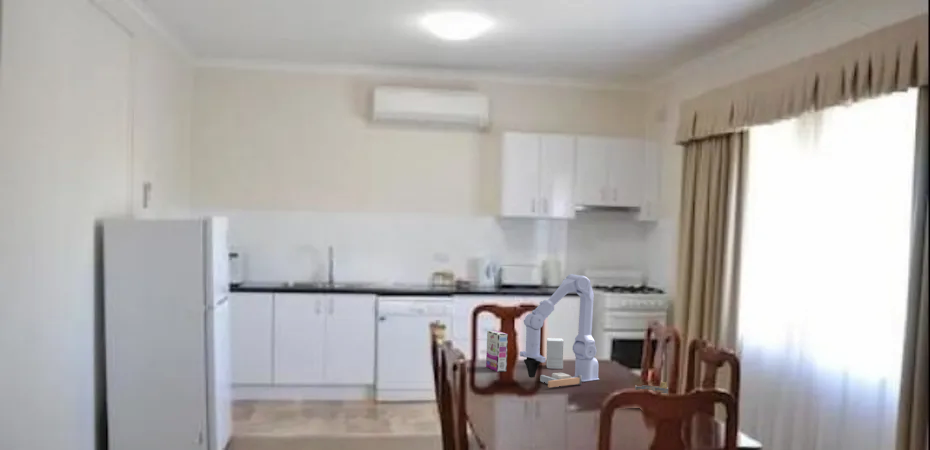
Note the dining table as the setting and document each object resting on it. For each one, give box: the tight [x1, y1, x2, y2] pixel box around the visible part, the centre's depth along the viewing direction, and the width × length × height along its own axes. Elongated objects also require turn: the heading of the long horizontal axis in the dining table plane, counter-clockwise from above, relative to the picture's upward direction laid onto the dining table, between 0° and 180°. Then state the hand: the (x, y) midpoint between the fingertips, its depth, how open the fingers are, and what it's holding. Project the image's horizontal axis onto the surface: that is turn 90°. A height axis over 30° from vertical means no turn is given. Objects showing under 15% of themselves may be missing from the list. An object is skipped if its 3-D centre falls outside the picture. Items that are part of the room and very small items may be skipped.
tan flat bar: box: [547, 375, 582, 388], centre depth 297 cm, size 17×1×4 cm, turn 123°
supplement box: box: [545, 337, 565, 370], centre depth 336 cm, size 7×7×13 cm
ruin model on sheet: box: [634, 380, 669, 395], centre depth 270 cm, size 11×3×10 cm, turn 80°
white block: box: [551, 372, 572, 380], centre depth 303 cm, size 5×6×4 cm
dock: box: [539, 374, 578, 388], centre depth 304 cm, size 10×11×2 cm
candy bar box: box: [485, 330, 509, 373], centre depth 327 cm, size 11×5×16 cm, turn 25°
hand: (531, 377), depth 303 cm, fingers closed
